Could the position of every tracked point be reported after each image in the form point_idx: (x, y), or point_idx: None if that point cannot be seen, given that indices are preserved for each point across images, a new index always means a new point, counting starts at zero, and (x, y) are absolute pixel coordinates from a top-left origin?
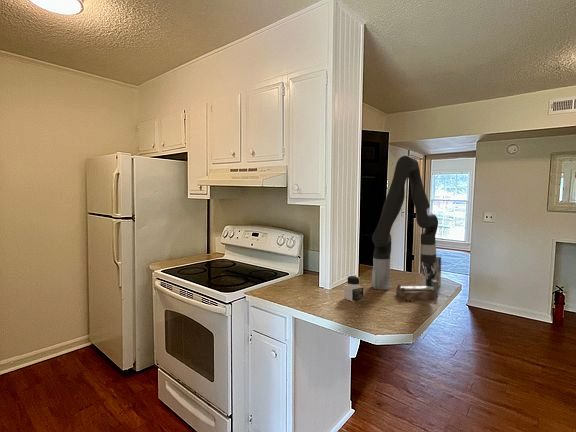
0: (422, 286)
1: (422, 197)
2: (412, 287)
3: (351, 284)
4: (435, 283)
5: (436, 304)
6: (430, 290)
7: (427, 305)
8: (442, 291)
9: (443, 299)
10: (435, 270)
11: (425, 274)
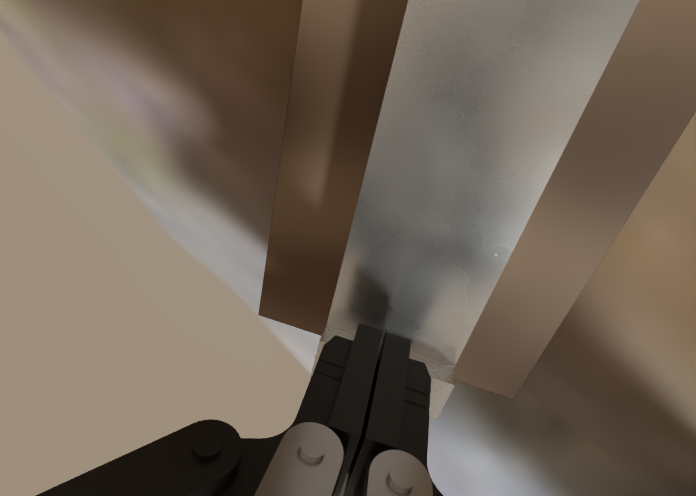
0: (462, 286)
1: None
2: (481, 25)
3: None
4: None
5: (148, 151)
6: (330, 299)
7: (116, 12)
8: (498, 481)
9: (284, 325)
10: None
11: None
